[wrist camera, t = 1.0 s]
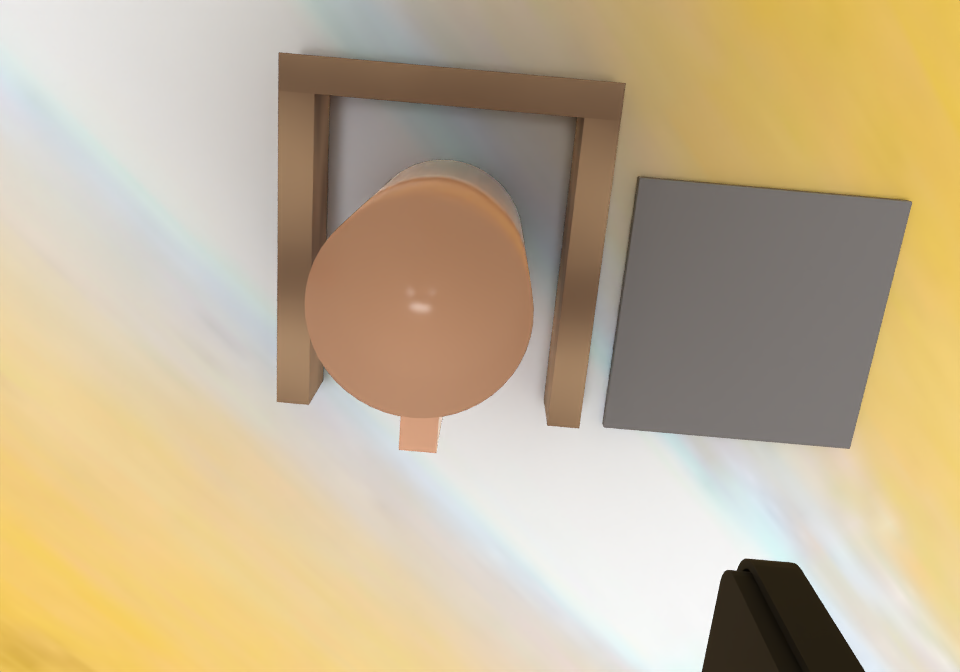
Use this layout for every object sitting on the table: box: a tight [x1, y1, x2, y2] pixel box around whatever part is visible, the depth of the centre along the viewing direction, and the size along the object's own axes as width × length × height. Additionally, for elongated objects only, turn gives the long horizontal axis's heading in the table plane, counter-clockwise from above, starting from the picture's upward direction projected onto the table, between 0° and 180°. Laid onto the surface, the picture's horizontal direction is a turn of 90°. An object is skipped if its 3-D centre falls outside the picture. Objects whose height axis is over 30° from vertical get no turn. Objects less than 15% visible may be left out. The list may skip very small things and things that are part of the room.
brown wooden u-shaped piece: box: [277, 53, 626, 428], centre depth 29 cm, size 12×11×2 cm
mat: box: [603, 177, 912, 449], centre depth 31 cm, size 10×10×1 cm
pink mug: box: [304, 160, 534, 453], centre depth 26 cm, size 8×6×10 cm
